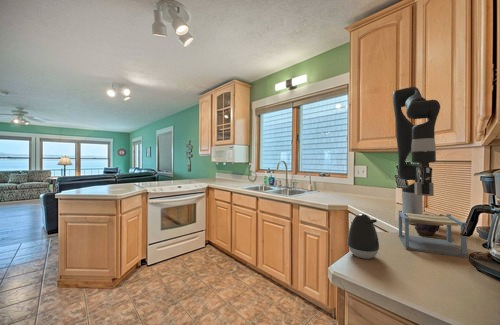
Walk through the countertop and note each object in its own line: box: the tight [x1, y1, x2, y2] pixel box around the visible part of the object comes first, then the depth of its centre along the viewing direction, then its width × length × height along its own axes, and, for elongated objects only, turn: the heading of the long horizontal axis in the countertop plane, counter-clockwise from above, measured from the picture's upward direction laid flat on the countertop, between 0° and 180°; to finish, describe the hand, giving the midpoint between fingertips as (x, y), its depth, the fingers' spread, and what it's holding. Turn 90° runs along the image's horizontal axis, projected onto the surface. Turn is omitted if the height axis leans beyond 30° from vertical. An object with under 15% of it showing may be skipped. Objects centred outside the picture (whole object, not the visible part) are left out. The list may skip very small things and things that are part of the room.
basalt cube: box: [413, 181, 434, 197], centre depth 85 cm, size 5×5×5 cm
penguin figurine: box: [346, 213, 380, 260], centre depth 78 cm, size 10×10×15 cm
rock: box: [414, 213, 441, 237], centre depth 102 cm, size 12×9×10 cm
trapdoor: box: [404, 213, 459, 227], centre depth 88 cm, size 14×15×4 cm
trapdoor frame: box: [397, 210, 469, 259], centre depth 87 cm, size 17×18×12 cm
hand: (423, 193), depth 85 cm, fingers closed on basalt cube, 5 cm apart
